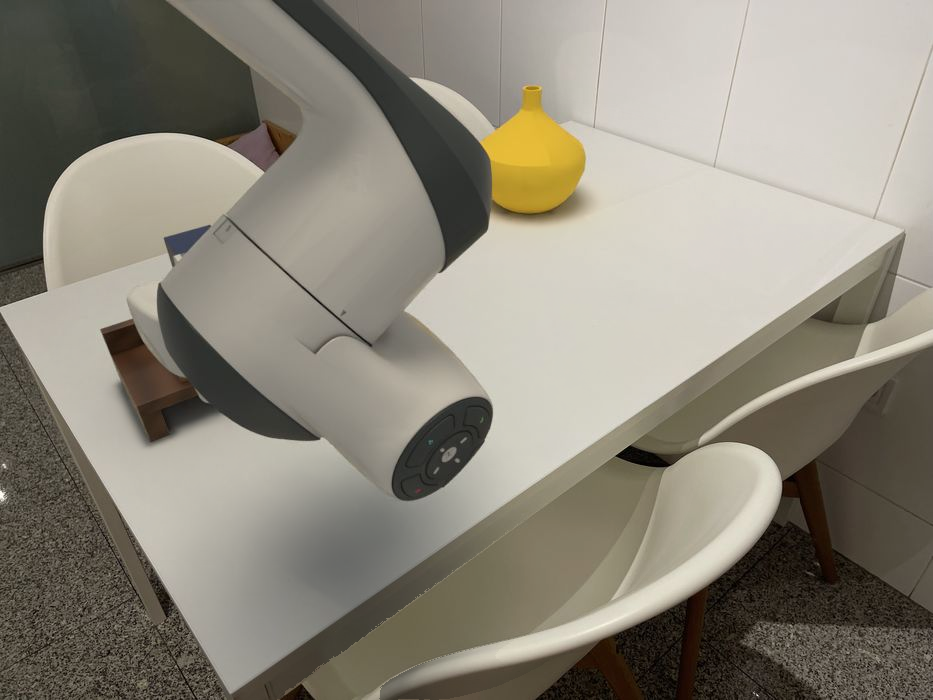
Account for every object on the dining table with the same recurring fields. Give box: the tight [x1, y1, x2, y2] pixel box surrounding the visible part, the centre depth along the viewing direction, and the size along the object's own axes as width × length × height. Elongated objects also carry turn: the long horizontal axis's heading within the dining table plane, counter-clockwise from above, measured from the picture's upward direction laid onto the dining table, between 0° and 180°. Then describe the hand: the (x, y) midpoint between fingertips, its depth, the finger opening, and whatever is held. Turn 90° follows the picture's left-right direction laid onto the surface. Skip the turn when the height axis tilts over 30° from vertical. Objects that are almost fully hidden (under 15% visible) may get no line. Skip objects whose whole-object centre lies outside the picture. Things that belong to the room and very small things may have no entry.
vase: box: [479, 85, 587, 215], centre depth 115 cm, size 18×18×19 cm
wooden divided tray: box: [99, 318, 199, 442], centre depth 81 cm, size 22×12×8 cm, turn 125°
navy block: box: [163, 224, 212, 268], centre depth 76 cm, size 5×5×13 cm
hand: (242, 244), depth 56 cm, fingers open, 8 cm apart
